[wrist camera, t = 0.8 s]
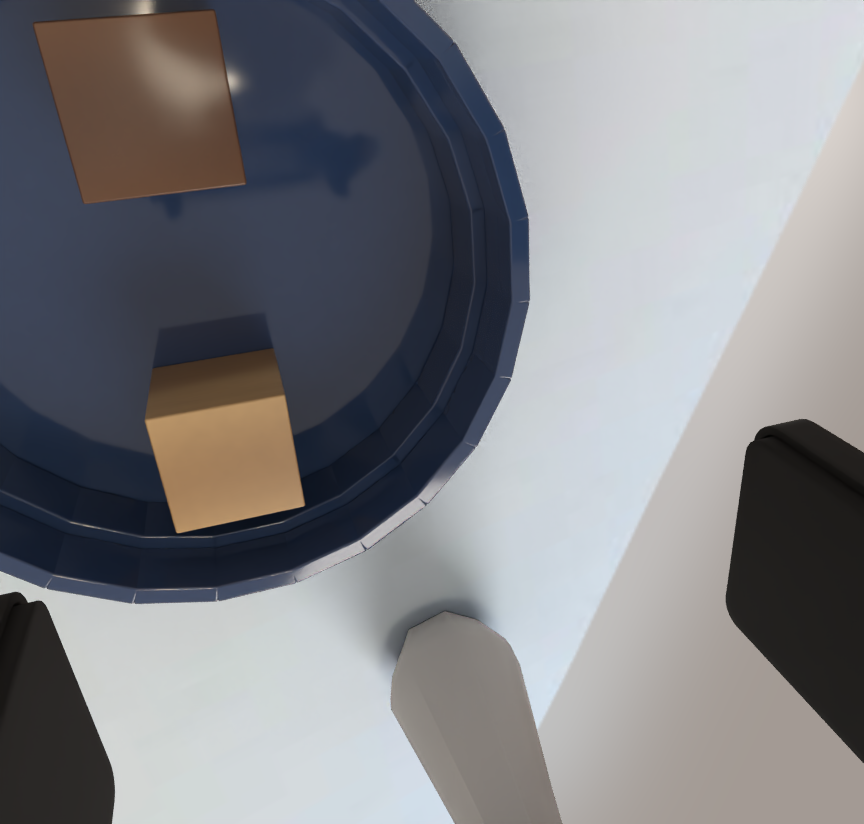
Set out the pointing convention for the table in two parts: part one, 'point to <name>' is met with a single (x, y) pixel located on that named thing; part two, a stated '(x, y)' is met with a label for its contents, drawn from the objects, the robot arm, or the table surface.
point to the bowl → (257, 297)
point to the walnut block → (143, 103)
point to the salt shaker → (472, 723)
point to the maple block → (223, 439)
